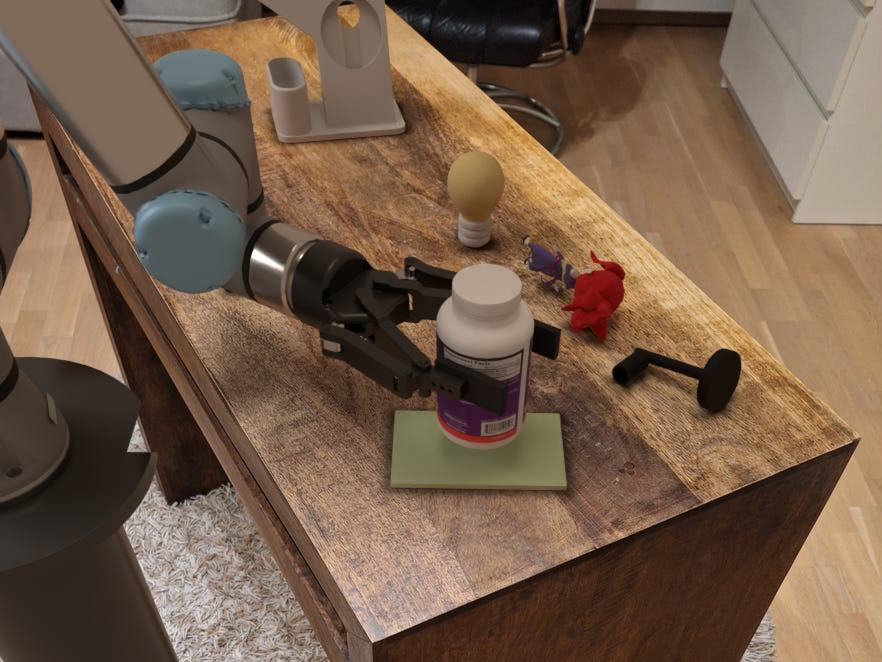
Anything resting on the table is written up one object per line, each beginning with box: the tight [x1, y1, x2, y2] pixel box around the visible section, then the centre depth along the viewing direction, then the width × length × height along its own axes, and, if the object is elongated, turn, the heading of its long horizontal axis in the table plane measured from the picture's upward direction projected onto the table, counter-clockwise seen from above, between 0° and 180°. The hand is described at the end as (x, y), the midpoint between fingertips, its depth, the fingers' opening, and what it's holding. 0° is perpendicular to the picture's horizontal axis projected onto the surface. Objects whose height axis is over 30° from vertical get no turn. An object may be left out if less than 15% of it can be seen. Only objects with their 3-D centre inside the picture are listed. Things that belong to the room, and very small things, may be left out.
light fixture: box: [588, 346, 743, 413], centre depth 89 cm, size 6×11×13 cm
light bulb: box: [446, 150, 506, 248], centre depth 102 cm, size 6×6×10 cm
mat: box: [390, 409, 568, 491], centre depth 85 cm, size 16×10×1 cm, turn 91°
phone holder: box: [258, 0, 406, 144], centre depth 115 cm, size 17×10×18 cm, turn 104°
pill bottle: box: [435, 263, 535, 450], centre depth 76 cm, size 8×8×14 cm
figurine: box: [522, 234, 627, 341], centre depth 96 cm, size 6×8×15 cm
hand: (531, 371), depth 74 cm, fingers closed on pill bottle, 8 cm apart
